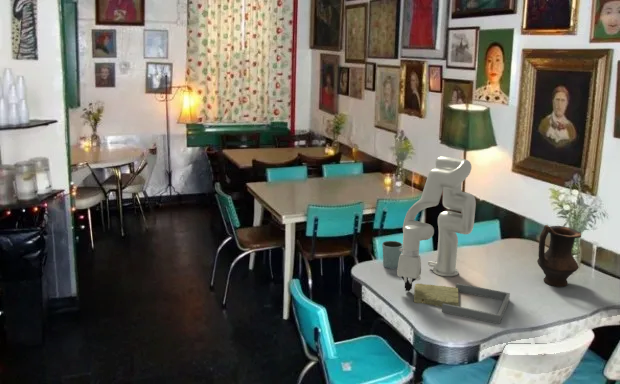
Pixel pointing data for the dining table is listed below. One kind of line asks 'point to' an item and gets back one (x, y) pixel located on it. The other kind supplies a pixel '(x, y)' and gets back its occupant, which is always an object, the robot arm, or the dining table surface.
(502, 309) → the box
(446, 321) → the dining table surface
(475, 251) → the dining table surface
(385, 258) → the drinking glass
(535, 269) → the dining table surface
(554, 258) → the jug
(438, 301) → the decorative tile
